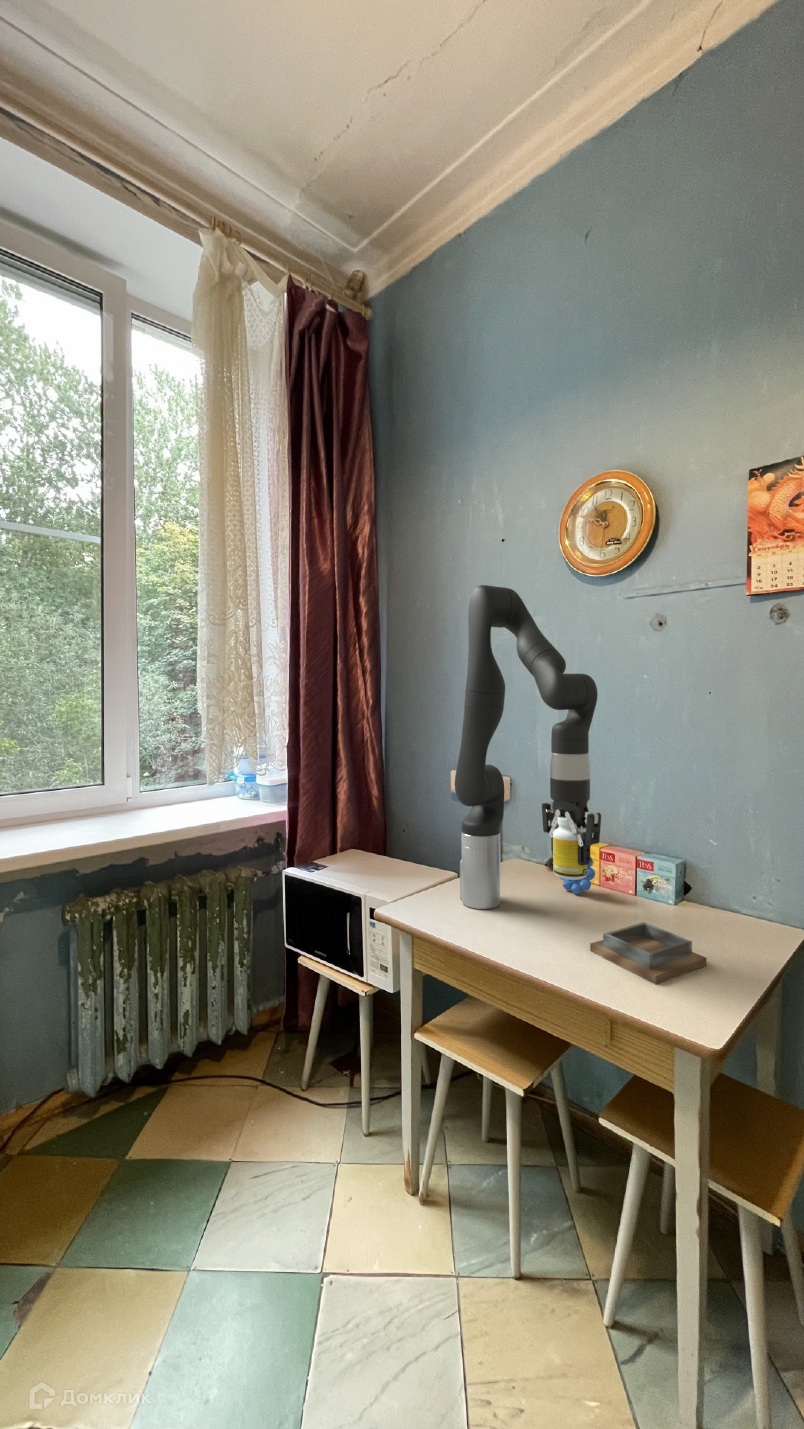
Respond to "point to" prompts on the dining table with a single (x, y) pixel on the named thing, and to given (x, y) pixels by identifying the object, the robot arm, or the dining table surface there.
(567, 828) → the pill bottle
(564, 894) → the dining table surface
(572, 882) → the grapes
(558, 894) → the dining table surface
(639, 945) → the collar board
